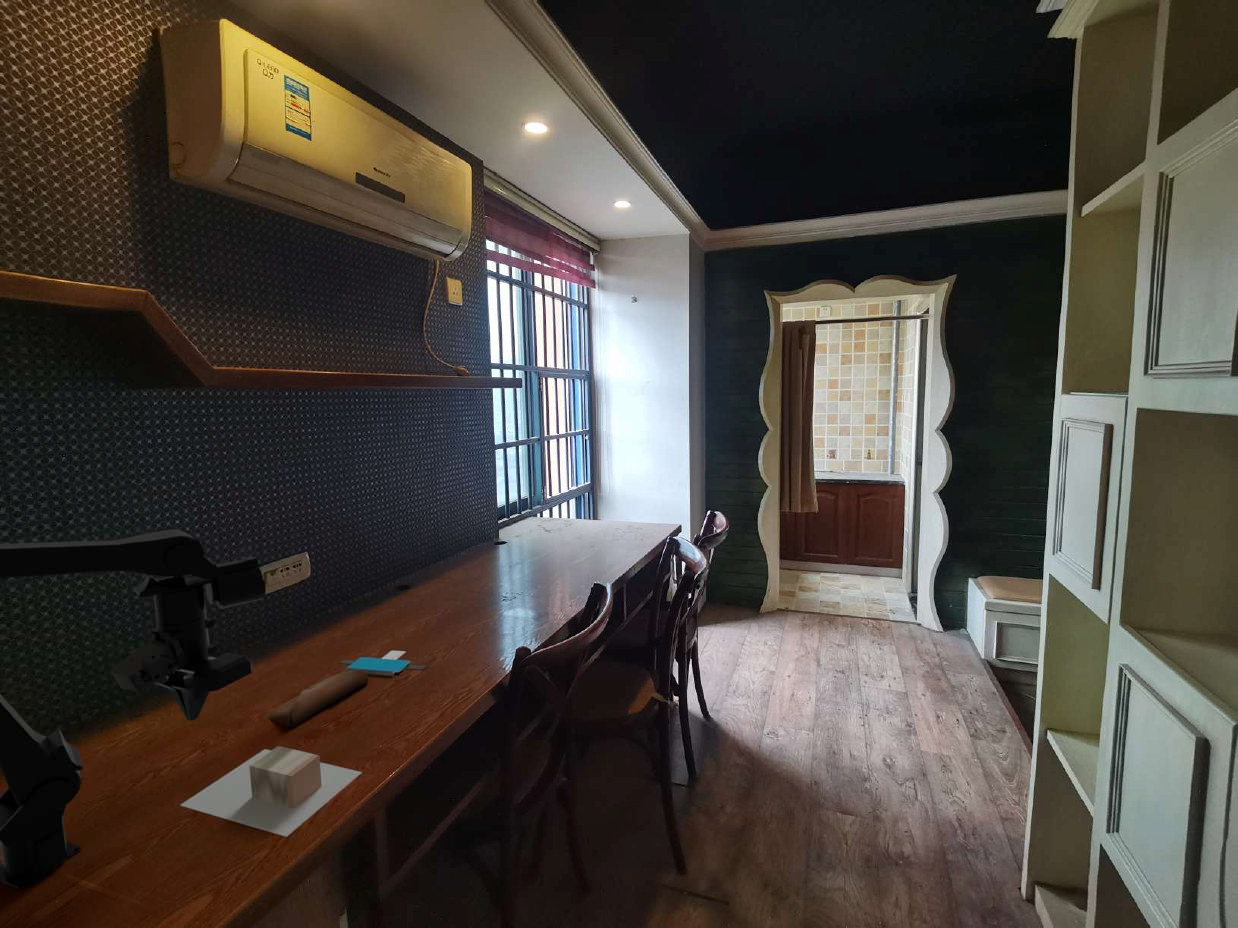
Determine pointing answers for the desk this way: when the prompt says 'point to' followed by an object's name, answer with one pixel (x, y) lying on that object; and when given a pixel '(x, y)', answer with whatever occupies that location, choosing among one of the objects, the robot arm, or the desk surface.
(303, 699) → the sunglasses case
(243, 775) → the grey mat
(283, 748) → the birch block
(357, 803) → the desk surface
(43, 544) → the robot arm
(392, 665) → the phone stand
